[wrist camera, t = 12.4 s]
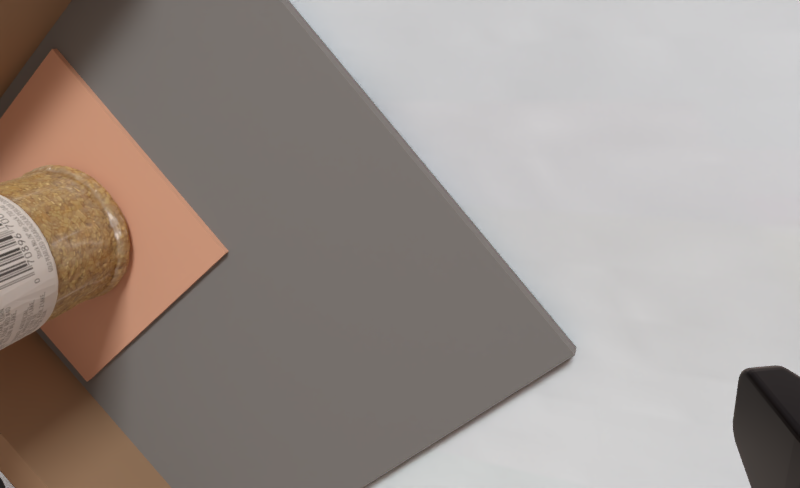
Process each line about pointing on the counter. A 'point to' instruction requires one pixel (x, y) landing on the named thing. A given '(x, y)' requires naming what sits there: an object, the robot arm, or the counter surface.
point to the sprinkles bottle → (56, 247)
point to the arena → (244, 261)
